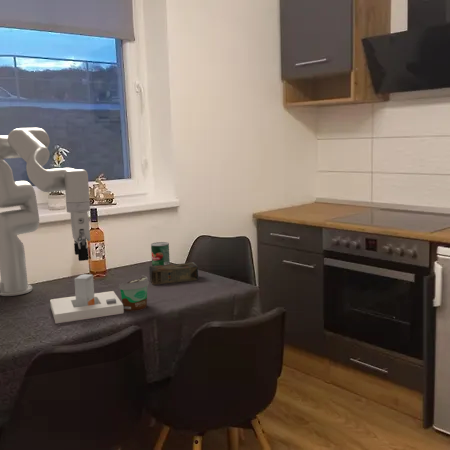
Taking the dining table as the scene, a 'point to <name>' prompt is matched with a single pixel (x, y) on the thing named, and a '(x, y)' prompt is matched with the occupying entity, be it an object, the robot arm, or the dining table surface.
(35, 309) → the dining table surface
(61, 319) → the socket plate
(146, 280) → the food container
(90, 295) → the skincare box
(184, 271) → the olive curved block
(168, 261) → the canned tomato
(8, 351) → the dining table surface
